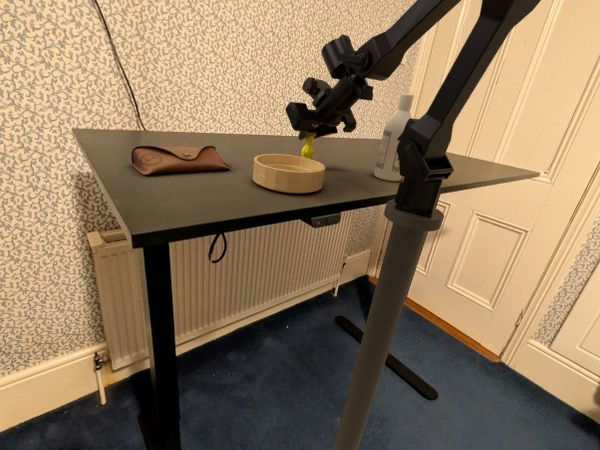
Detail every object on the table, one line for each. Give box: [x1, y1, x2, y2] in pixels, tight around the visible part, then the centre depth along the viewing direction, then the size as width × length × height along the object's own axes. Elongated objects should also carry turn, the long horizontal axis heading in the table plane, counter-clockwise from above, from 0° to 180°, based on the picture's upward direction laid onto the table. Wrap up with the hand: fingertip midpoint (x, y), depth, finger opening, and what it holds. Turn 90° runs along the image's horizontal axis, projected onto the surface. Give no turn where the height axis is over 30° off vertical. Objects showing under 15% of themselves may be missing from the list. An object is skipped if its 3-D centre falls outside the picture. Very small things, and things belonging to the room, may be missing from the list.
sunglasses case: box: [130, 145, 231, 176], centre depth 66 cm, size 18×7×7 cm
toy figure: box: [298, 131, 316, 160], centre depth 81 cm, size 7×4×12 cm, turn 44°
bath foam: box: [373, 93, 415, 182], centre depth 79 cm, size 7×7×20 cm
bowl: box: [251, 153, 326, 194], centre depth 65 cm, size 14×14×4 cm
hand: (303, 138), depth 81 cm, fingers closed on toy figure, 2 cm apart
